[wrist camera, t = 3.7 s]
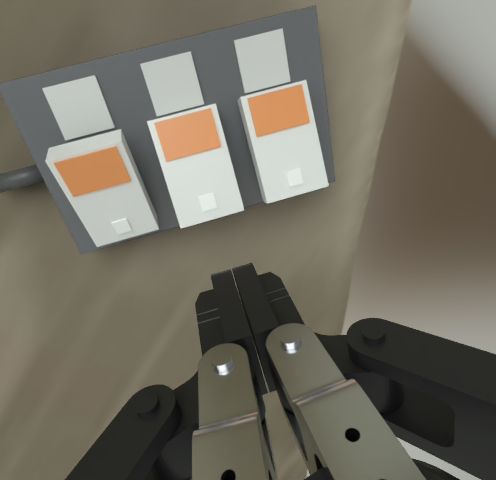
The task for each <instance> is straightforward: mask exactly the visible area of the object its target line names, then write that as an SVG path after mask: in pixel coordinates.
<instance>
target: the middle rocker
mask: <svg viewBox="0 0 496 480" xmlns="http://www.w3.org/2000/svg"><path fill="white" fill-rule="evenodd" d="M147 123H148V126H149V130H150V133H151V136H152V139H153V142H154V146H155V149H156V152H157V155H158V158H159V161H160V165H161V168H162V171H163V174H164V177H165V181H166V184H167V187H168V190H169V193H170V196H171V200H172V203H173V206H174V209H175V212H176V215H177V219H178V222H179V225H180V228H185V227H188V226H192V225H195V224H199V223H202V222H206V221H209V220H213V219H216V218H220V217H223V216H227V215H230V214H233V213H237V212H240V211H244V206H243V203H242V199H241V195H240V192H239V188H238V184H237V181H236V177H235V173H234V169H233V166H232V162H231V158H230V155H229V151H228V147H227V144H226V140H225V136H224V132H223V129H222V125H221V121H220V118H219V114H218V110H217V106H216V103H215V104H211V105H208V106H204V107H200V108H196V109H192V110H189V111H185V112H181V113H177V114H173V115H170V116H166V117H162V118H158V119H154V120H150V121H147Z"/></svg>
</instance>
